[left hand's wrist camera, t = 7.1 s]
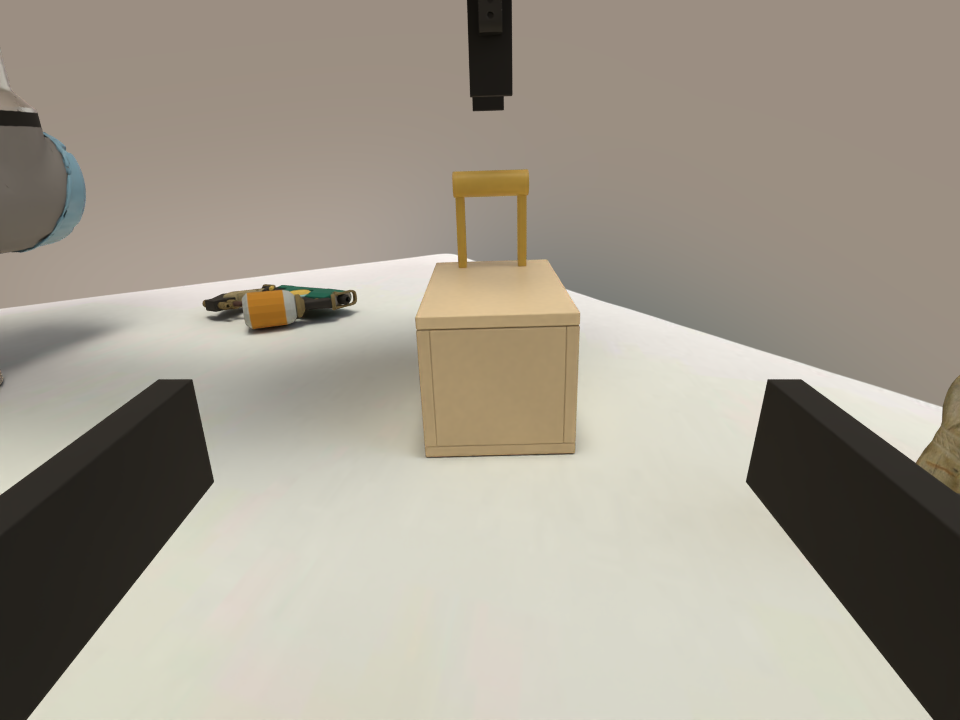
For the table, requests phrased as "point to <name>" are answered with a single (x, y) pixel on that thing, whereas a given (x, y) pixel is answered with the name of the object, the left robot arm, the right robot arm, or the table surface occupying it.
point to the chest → (499, 390)
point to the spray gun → (279, 303)
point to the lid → (494, 272)
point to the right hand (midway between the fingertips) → (489, 105)
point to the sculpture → (946, 443)
